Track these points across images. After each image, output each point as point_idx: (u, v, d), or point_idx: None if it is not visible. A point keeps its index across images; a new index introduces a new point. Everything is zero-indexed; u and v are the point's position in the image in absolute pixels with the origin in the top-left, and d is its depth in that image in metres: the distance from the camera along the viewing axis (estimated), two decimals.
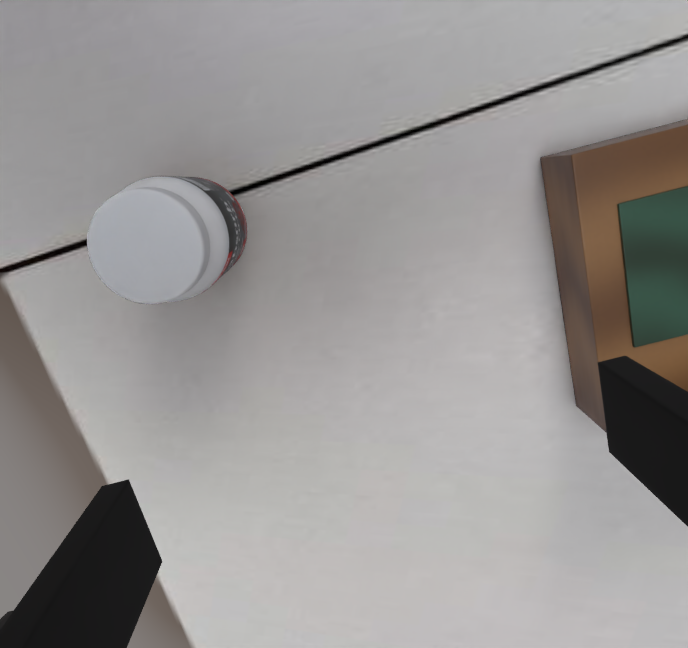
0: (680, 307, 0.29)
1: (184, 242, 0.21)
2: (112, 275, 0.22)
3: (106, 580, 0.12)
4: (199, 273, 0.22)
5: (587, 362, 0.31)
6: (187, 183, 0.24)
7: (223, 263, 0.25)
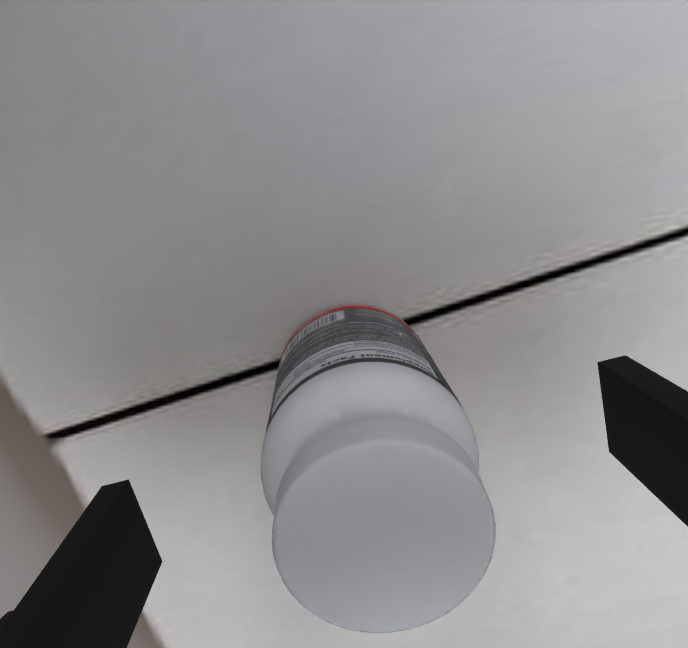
0: None
1: (461, 532, 0.11)
2: (316, 589, 0.11)
3: (106, 580, 0.12)
4: (479, 579, 0.11)
5: None
6: (421, 378, 0.13)
7: None
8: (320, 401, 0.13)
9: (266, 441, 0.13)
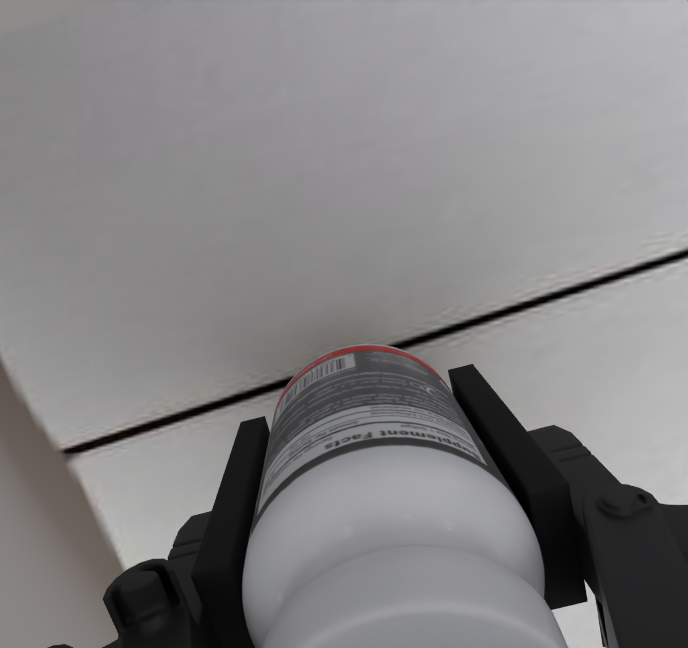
0: None
1: None
2: None
3: None
4: None
5: None
6: (467, 471, 0.09)
7: None
8: (324, 507, 0.09)
9: (249, 556, 0.10)
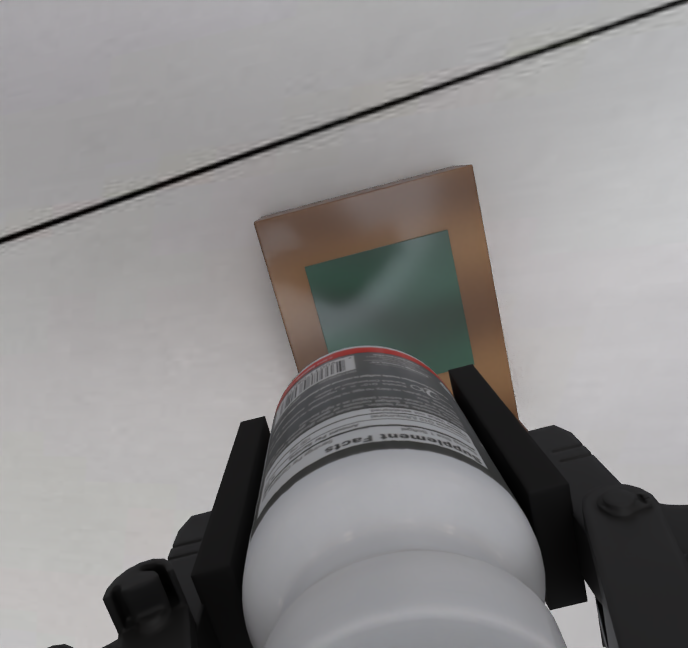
0: None
1: None
2: None
3: None
4: None
5: None
6: (468, 474, 0.09)
7: None
8: (324, 511, 0.09)
9: (249, 560, 0.10)
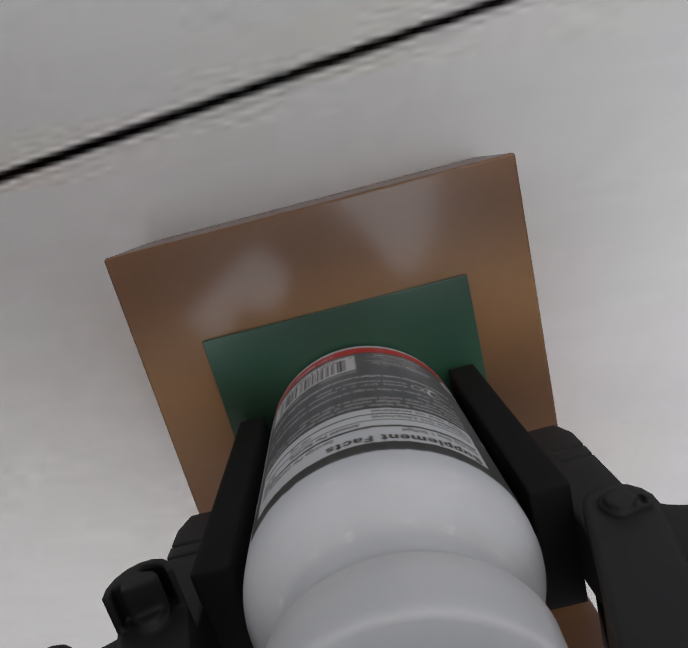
0: None
1: None
2: None
3: None
4: None
5: None
6: (469, 475, 0.09)
7: None
8: (326, 512, 0.09)
9: (250, 561, 0.10)
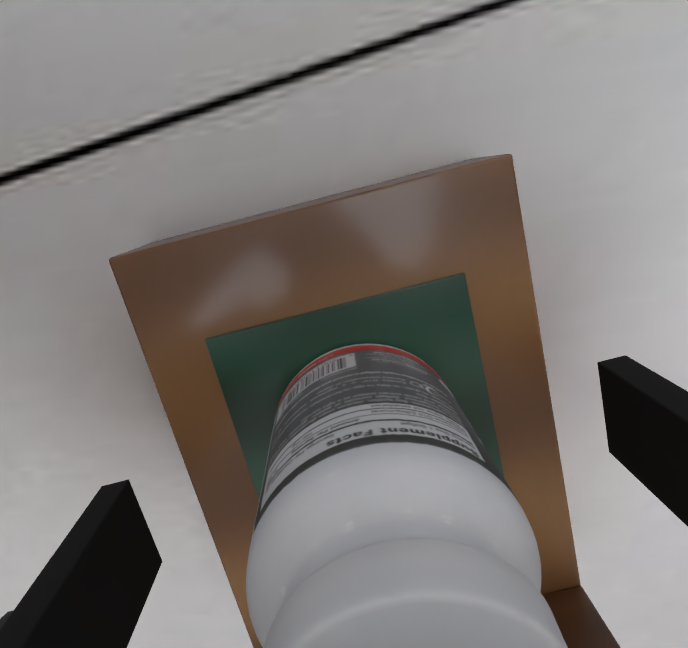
0: None
1: None
2: None
3: (106, 580, 0.12)
4: None
5: None
6: (465, 467, 0.10)
7: None
8: (326, 503, 0.09)
9: (252, 550, 0.10)
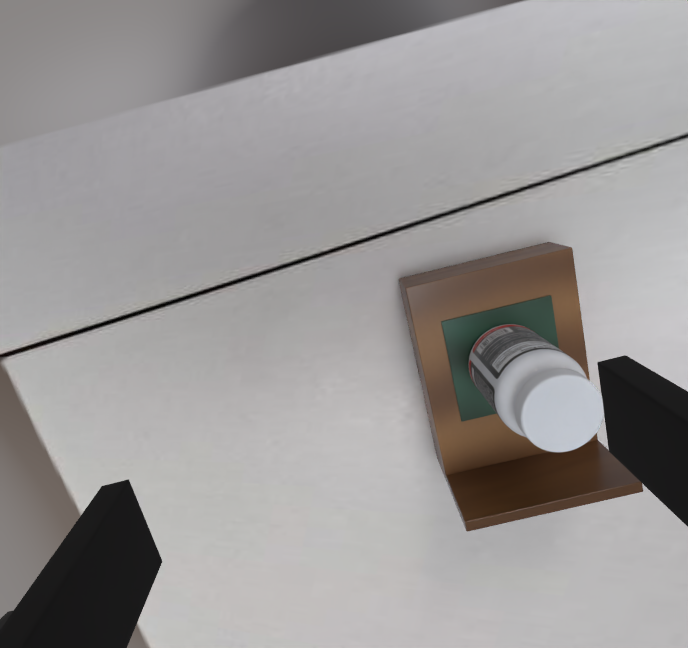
0: None
1: (591, 410, 0.30)
2: (535, 432, 0.30)
3: (106, 580, 0.12)
4: (596, 431, 0.30)
5: (433, 429, 0.42)
6: (567, 356, 0.32)
7: None
8: (528, 364, 0.31)
9: (501, 381, 0.32)
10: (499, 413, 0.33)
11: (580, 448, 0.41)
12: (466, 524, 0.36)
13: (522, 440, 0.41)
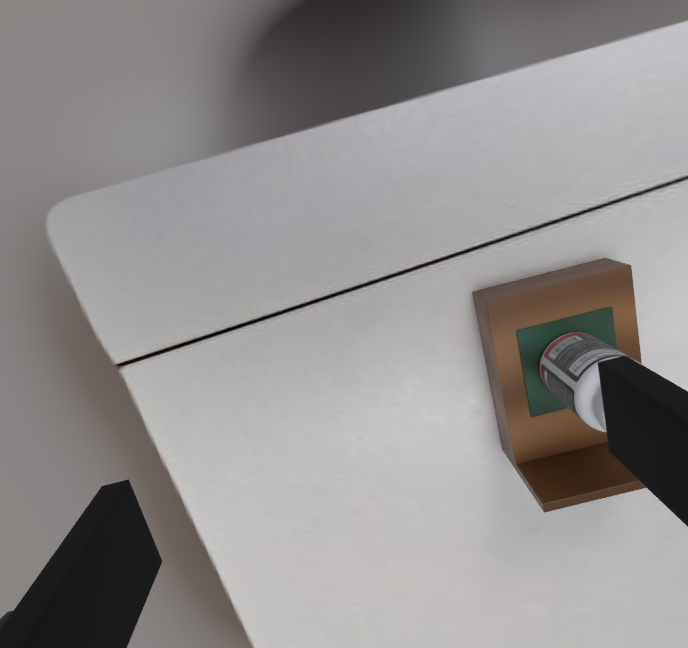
0: None
1: None
2: None
3: (106, 580, 0.12)
4: None
5: (504, 424, 0.48)
6: None
7: None
8: None
9: (581, 384, 0.38)
10: (578, 411, 0.38)
11: None
12: (544, 506, 0.42)
13: (583, 432, 0.47)
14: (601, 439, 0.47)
